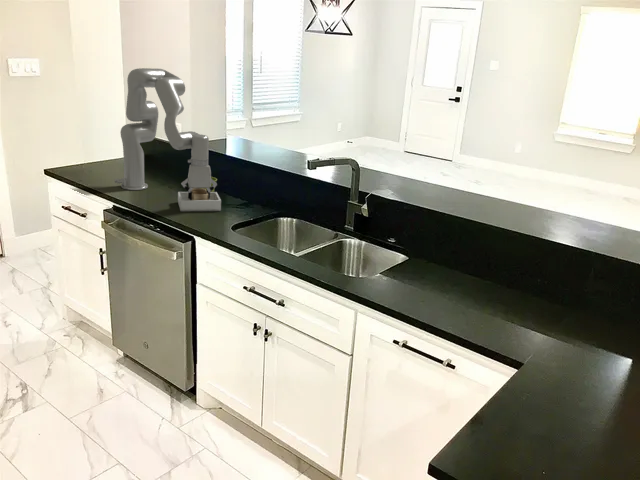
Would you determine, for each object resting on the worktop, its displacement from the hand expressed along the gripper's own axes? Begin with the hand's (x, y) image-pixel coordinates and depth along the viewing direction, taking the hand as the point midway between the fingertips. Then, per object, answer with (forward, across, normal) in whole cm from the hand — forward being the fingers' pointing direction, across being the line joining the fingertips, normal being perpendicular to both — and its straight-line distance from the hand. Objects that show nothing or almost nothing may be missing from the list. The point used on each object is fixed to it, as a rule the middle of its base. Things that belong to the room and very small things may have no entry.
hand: (199, 199), depth 251 cm
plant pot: (+3, +6, +18) cm, 19 cm away
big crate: (+3, 0, 0) cm, 3 cm away
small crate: (+1, 0, 0) cm, 1 cm away
